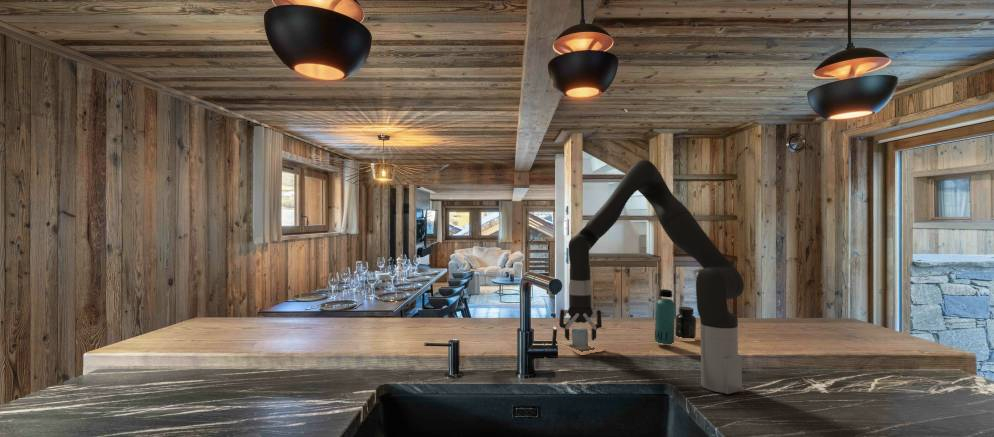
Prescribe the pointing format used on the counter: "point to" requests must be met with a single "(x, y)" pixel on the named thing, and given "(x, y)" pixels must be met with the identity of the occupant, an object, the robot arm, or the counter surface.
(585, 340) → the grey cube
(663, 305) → the beverage bottle
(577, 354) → the counter surface
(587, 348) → the board
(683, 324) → the supplement bottle
